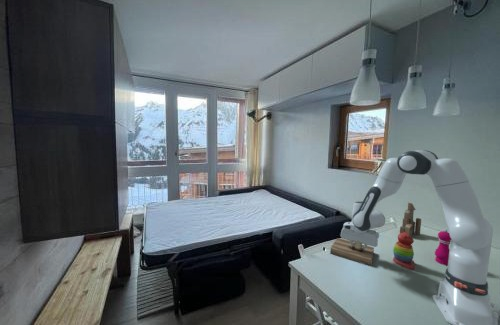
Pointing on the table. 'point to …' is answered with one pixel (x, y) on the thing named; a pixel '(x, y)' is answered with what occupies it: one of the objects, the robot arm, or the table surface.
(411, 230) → the wooden toy
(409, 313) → the table surface
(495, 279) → the table surface
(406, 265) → the stacking bear
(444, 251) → the pepper mill
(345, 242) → the board
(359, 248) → the peg
